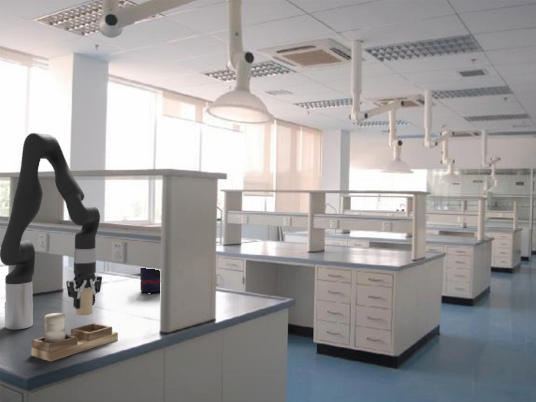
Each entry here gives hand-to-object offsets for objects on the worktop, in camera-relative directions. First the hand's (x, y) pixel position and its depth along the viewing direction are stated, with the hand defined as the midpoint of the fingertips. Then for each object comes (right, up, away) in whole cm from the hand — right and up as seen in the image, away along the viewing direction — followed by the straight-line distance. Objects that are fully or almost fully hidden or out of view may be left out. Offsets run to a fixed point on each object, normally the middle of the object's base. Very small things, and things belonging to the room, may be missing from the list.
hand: (84, 306), depth 179 cm
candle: (0, -3, 0) cm, 3 cm away
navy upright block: (+7, -9, +75) cm, 76 cm away
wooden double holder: (+3, -10, -15) cm, 18 cm away
